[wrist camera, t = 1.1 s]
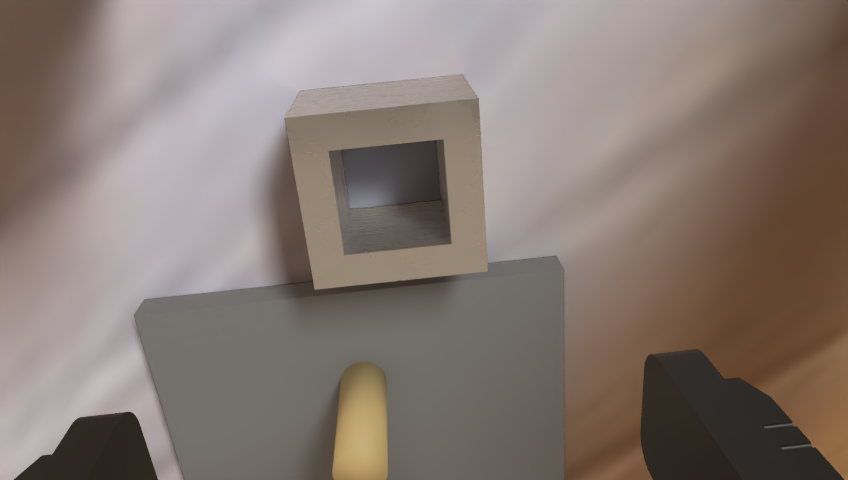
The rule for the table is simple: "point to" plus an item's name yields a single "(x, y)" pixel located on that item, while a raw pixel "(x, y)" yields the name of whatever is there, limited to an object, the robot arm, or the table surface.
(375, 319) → the plate
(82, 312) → the table surface
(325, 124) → the frame
